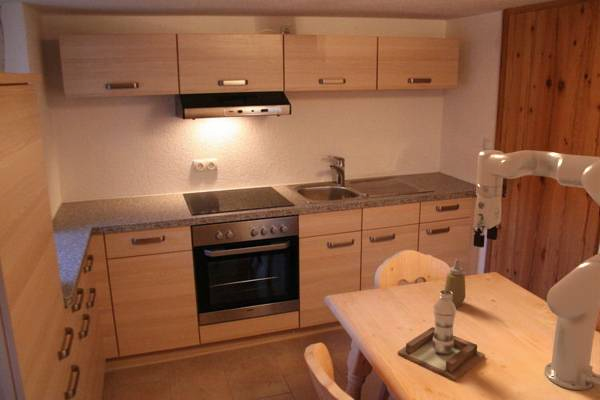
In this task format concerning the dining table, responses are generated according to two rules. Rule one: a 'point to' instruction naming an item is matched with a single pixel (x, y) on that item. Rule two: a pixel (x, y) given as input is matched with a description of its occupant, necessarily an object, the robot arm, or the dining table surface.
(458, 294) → the squeeze bottle
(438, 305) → the plastic bottle
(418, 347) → the tray
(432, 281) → the dining table surface
